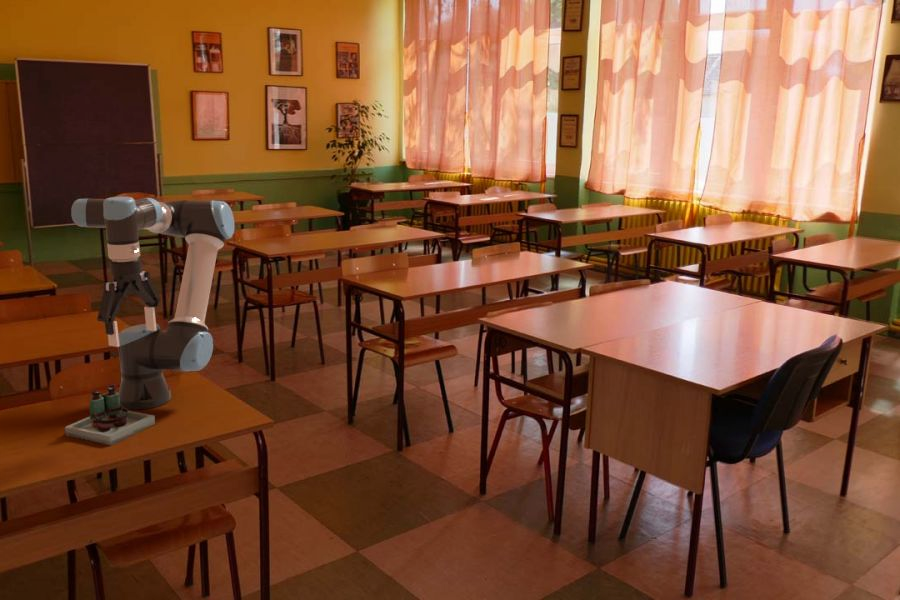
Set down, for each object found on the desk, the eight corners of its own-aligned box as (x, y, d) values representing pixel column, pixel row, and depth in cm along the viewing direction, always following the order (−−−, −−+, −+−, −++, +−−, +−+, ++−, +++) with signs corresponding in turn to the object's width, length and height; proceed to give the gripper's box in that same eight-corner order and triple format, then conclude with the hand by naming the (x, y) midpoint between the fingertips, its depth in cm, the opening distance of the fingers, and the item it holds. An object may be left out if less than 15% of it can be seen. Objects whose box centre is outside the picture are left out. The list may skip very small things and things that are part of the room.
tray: (111, 415, 225) (110, 407, 225) (155, 423, 220) (154, 415, 219) (65, 435, 211) (64, 427, 210) (111, 445, 205) (110, 436, 205)
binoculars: (103, 401, 206) (83, 390, 212) (104, 438, 209) (85, 425, 215) (134, 392, 213) (114, 381, 219) (135, 427, 216) (116, 415, 222)
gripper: (99, 270, 187) (109, 354, 193) (170, 250, 209) (177, 325, 215) (75, 267, 189) (85, 350, 195) (147, 247, 212) (154, 322, 218)
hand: (133, 337), depth 205 cm, fingers open, 13 cm apart
